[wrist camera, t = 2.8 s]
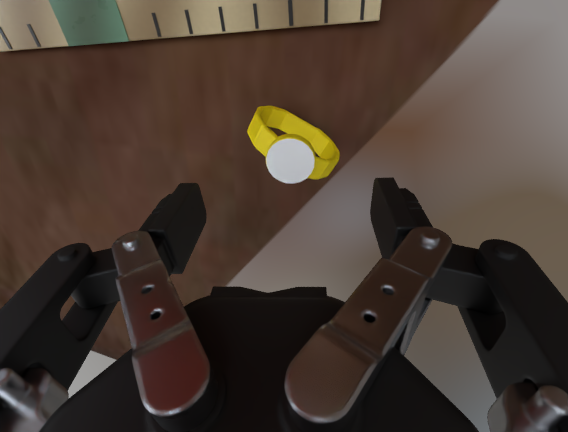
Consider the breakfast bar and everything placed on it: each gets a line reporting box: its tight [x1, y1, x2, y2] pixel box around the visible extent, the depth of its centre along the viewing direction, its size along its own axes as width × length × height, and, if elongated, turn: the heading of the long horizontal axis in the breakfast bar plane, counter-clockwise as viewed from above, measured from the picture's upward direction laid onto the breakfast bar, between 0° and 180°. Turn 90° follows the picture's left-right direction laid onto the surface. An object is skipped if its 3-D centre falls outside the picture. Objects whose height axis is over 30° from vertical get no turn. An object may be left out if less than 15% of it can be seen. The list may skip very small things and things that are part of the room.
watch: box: [247, 106, 340, 184], centre depth 18 cm, size 6×3×6 cm, turn 63°
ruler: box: [0, 0, 381, 52], centre depth 17 cm, size 24×3×1 cm, turn 94°
